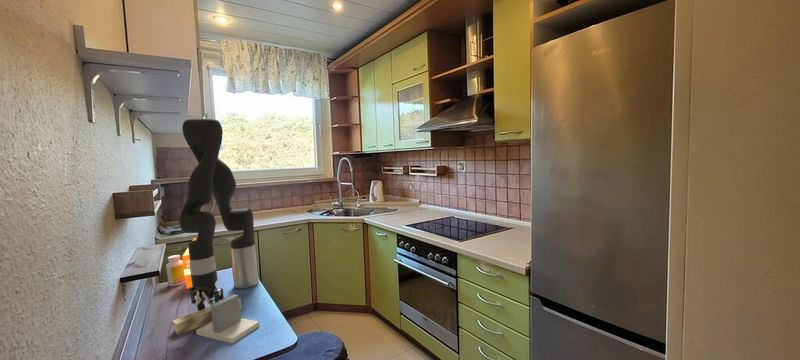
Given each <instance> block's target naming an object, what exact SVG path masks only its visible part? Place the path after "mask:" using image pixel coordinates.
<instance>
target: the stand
mask: <svg viewBox="0 0 800 360" xmlns="http://www.w3.org/2000/svg"><path fill="white" fill-rule="evenodd" d="M239 299H240V298H239V294H234V293H233V294H231V295H229V296H226V297H224V299H223V300H221V301H220V300H219V302H216V303H215V302H213V303H214V304H212V305H211V313H212V322H210V323H207V324H205V325H202V326H200V328H199V327H198V329H197V328H196V329H195V331H196V335H197V336H200V337H201V336H202V337H205V338H209V339H213V340H216V341H221V342H225V343H227V344H232V345H233V344H235V343H236V342H238V341H239V340H240V339H242V338H243V337H246V336H247V335H248V334H250V333H251V332H253V331H254V330H256V329H257V328H258V327H260V321H257V320H253V319H252V320H251V319H248V318H242V317H241V316H242V313H241V310H240V305H239Z"/></svg>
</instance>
